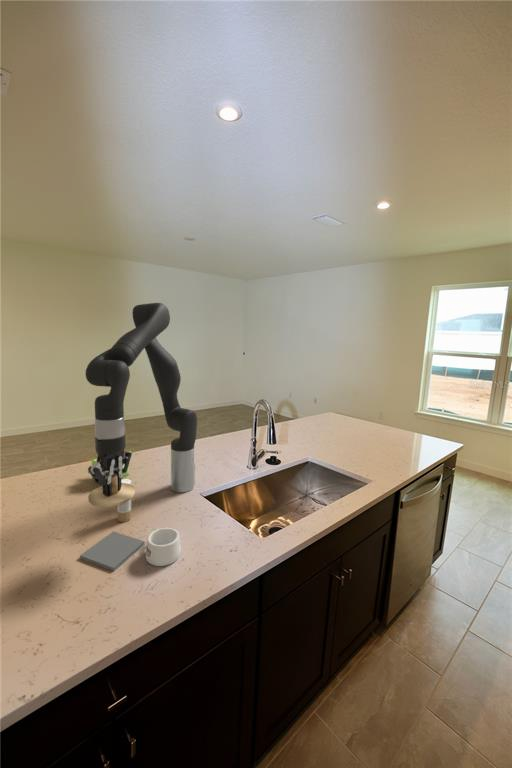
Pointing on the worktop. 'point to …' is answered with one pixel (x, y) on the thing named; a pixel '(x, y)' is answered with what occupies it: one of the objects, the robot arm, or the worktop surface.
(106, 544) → the mat
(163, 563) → the mug
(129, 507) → the sprinkles bottle
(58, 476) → the worktop surface
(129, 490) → the lid
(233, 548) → the worktop surface
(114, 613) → the worktop surface
